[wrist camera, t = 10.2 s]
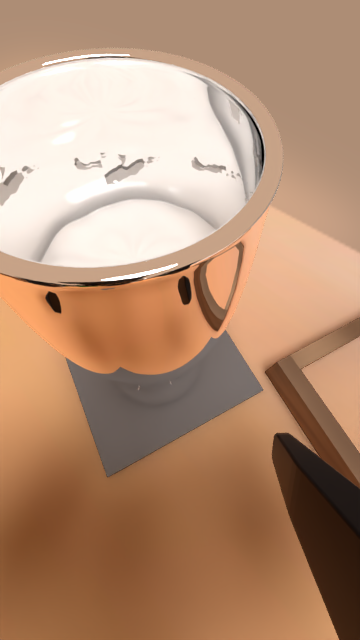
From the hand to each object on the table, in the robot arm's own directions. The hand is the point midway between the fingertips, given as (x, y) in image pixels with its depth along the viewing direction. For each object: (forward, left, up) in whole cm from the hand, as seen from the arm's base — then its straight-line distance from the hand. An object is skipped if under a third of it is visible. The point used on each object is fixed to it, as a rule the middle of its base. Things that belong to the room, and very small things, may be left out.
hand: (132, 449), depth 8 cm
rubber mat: (+2, +5, -9) cm, 11 cm away
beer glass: (+2, +5, -9) cm, 10 cm away
